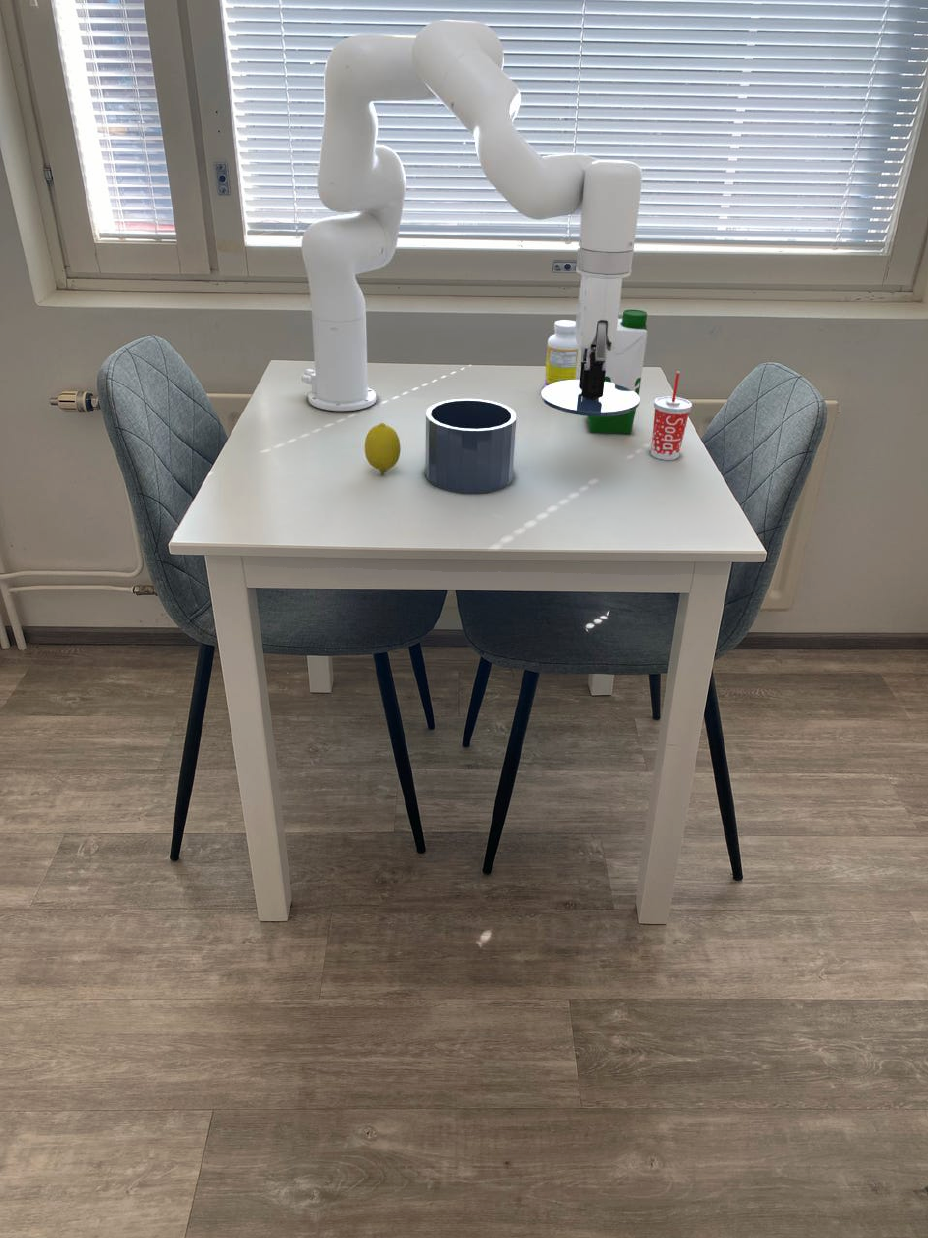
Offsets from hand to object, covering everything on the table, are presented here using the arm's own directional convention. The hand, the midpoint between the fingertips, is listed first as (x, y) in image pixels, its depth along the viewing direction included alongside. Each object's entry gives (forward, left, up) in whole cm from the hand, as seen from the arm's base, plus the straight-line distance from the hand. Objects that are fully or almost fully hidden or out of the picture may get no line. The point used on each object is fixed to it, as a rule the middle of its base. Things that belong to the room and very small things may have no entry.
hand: (590, 391), depth 133 cm
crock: (-15, -9, -14) cm, 23 cm away
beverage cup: (+7, +18, -14) cm, 24 cm away
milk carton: (-6, +24, -14) cm, 29 cm away
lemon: (-27, -16, -14) cm, 34 cm away
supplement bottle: (-22, +37, -14) cm, 46 cm away
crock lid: (0, 0, -1) cm, 1 cm away
